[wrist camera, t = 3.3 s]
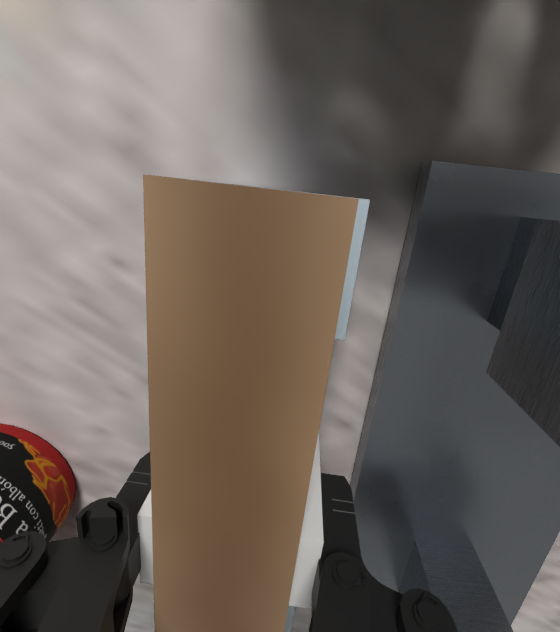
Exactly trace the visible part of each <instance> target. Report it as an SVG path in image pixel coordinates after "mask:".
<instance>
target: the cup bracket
mask: <svg viewBox="0 0 560 632" xmlns="http://www.w3.org/2000/svg"><path fill="white" fill-rule="evenodd" d="M350 487H351V489H352V496H353V504H354V510H355V516H356V523H357V530H358V537H359V544H360V550H361V556H362V560H363V563H364V565H365V567H366V569H367V570H368V571H369V572H370V574H371V575H372V576H373V577H374V578H375V579H376V580H377V581H379V582H380V583H382V584H383V585H385V586H387V587H389V588H391V589H393V590H395V591H397V592H399V593H401V594H404V593H406V592H407V591H408V590H409V589H416V588H419V589H422V590H426V591H429V592H430V593H432V594H433V595H435V596H436V597H438V598H439V599H440V600H441V602H442V603H443V604H444V605H445V606H446V607H447V609H448V610H449V612H450V614H451V616H452V618H453V620H454V622H455V625H456V628H457V630H458V632H513V630H512V628H511V624H512V622H513V620H514V618H515V616H516V615H517V613H518V611H519V609H520V607H521V605H522V603H523V601H524V599H525V597H526V595H527V593H528V591H529V589H530V587H531V585H532V584H533V582H534V580H535V578H536V576H537V574H538V572H539V570H540V568H541V566H542V564H543V562H544V560H545V558H546V556H547V555H548V553H549V551H550V549H551V547H552V545H553V543H554V541H555V539H556V537H557V535H558V533H559V531H560V174H554V173H544V172H535V171H526V170H516V169H507V168H498V167H489V166H479V165H470V164H461V163H451V162H442V161H429V162H425V163H422V167H421V171H420V176H419V180H418V184H417V189H416V193H415V198H414V202H413V207H412V211H411V216H410V220H409V225H408V229H407V233H406V238H405V242H404V247H403V251H402V256H401V260H400V265H399V269H398V274H397V278H396V283H395V287H394V291H393V296H392V300H391V305H390V309H389V314H388V318H387V323H386V327H385V332H384V336H383V341H382V345H381V349H380V354H379V358H378V363H377V367H376V372H375V376H374V381H373V385H372V390H371V394H370V399H369V403H368V407H367V412H366V416H365V421H364V425H363V430H362V434H361V439H360V443H359V448H358V452H357V456H356V461H355V465H354V470H353V474H352V479H351V483H350Z"/></svg>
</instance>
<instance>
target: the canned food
mask: <svg viewBox="0 0 560 632" xmlns="http://www.w3.org/2000/svg"><path fill="white" fill-rule="evenodd" d="M75 490H76V489H75V480H74V477H73V474H72V471H71V469H70V467H69V466H68V464H67V462H66V461H65V459H64V458H63V457H62V456H61V455H60V453H59V452H58V451H57V450H56V449H55V448H54V447H52V446H51V445H50V444H49V443H48V442H46V441H45V440H43V439H42V438H40V437H38V436H37V435H35V434H33V433H31V432H28V431H26V430H24V429H21V428H18V427H14V426H11V425H6V424H0V543H1V542H2V541H4V540H5V539H7V538H9V537H11V536H13V535H15V534H18V533H22V532H26V531H36V532H38V533H40V534H42V535H43V536H44V538H45V540H46V543H47V542H49V541H50V539H51V538H52V537H53V535H54V534H55V532H56V531H57V530H58V528H59V527H60V526H61V524H62V523H63V522H64V520H65V519H66V517H67V515H68V513H69V510H70V508H71V505H72V502H73V500H74V496H75Z"/></svg>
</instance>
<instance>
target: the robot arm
mask: <svg viewBox="0 0 560 632" xmlns="http://www.w3.org/2000/svg"><path fill="white" fill-rule="evenodd" d="M76 520H77V528H78V537H75V538H71V539H65V540H59V541H53V542H47V543H46V540H45V538H44V536H43V535H42V534H40V533H38V532H36V531H26V532H22V533H18V534H15V535H13V536H11V537H9V538H7V539H5V540H4V541H2V542H1V543H0V632H124V630H125V626H126V622H127V618H128V614H129V611H130V607H131V603H132V596H133V585H134V583H135V581H136V578H137V576H138V574H139V572H140V582H141V583H147V584H153V544H152V505H151V465H150V452H149V453H148V454H146V455H145V456H144V457H142V458H141V459H140V460H139V462H138V464H137V465H136V467H135V468H134V470H133V473H131V475H130V476H129V478H128V479H127V482H126V483H125V484H124V486H123V487H122V489H121V491H120V492H119V494H118V495H117V497H116V498H112V497H109V498H103V499H99V500H97V501H94V502H92V503H90V504H89V505H88V506H86V507H85V508H84V509H82V511H81V512H80V513H79V515H78V516H77V517H76ZM153 585H154V584H153ZM311 601H312V618H311V623H310V628H309V632H458V630H457V628H456V625H455V622H454V620H453V618H452V616H451V614H450V612H449V610H448V609H447V607H446V606H445V605H444V604H443V603H442V602H441V600H440V599H439V598H438V597H436V596H435V595H433V594H432V593H430V592H429V591H426V590H422V589H419V588H416V589H409V590H408V591H407V592H406V593H404V594H401V593H399V592H397V591H395V590H393V589H391V588H389V587H387V586H385V585H383V584H382V583H380V582H379V581H377V580H376V579H375V578H374V577H373V576H372V575H371V574H370V572H369V571H368V570H367V569H366V567H365V565H364V563H363V560H362V556H361V550H360V544H359V537H358V530H357V523H356V516H355V510H354V504H353V496H352V489H351V487H350V485H349V484H348V482H347V480H346V479H345V477H344V476H337V475H330V474H323V473H321V472H320V450H319V432H318V438H317V444H316V450H315V455H314V461H313V467H312V473H311V478H310V484H309V490H308V496H307V502H306V507H305V513H304V519H303V525H302V530H301V536H300V542H299V548H298V554H297V559H296V565H295V571H294V577H293V582H292V588H291V594H290V600H289V606H295V607H302V608H308V609H310V606H311Z"/></svg>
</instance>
